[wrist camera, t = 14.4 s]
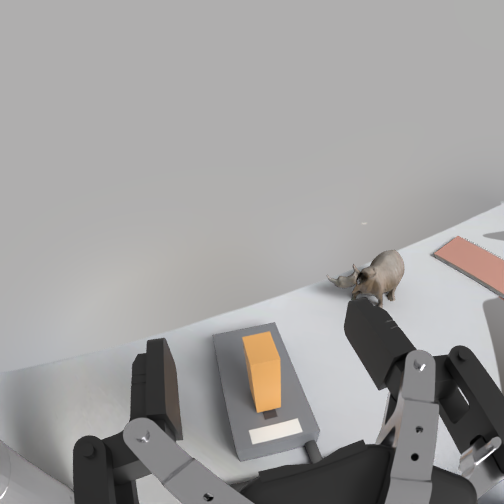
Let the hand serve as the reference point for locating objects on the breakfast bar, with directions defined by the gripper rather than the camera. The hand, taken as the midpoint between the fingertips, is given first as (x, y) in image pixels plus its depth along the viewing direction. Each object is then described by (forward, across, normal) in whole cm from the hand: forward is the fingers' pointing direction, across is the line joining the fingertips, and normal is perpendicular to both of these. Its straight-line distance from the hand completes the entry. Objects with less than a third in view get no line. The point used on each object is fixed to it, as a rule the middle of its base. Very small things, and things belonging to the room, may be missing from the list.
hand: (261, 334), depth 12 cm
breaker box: (+14, -2, +29) cm, 32 cm away
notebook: (+25, -64, +28) cm, 74 cm away
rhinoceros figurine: (+28, -28, +29) cm, 49 cm away
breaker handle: (+11, -2, +24) cm, 27 cm away
